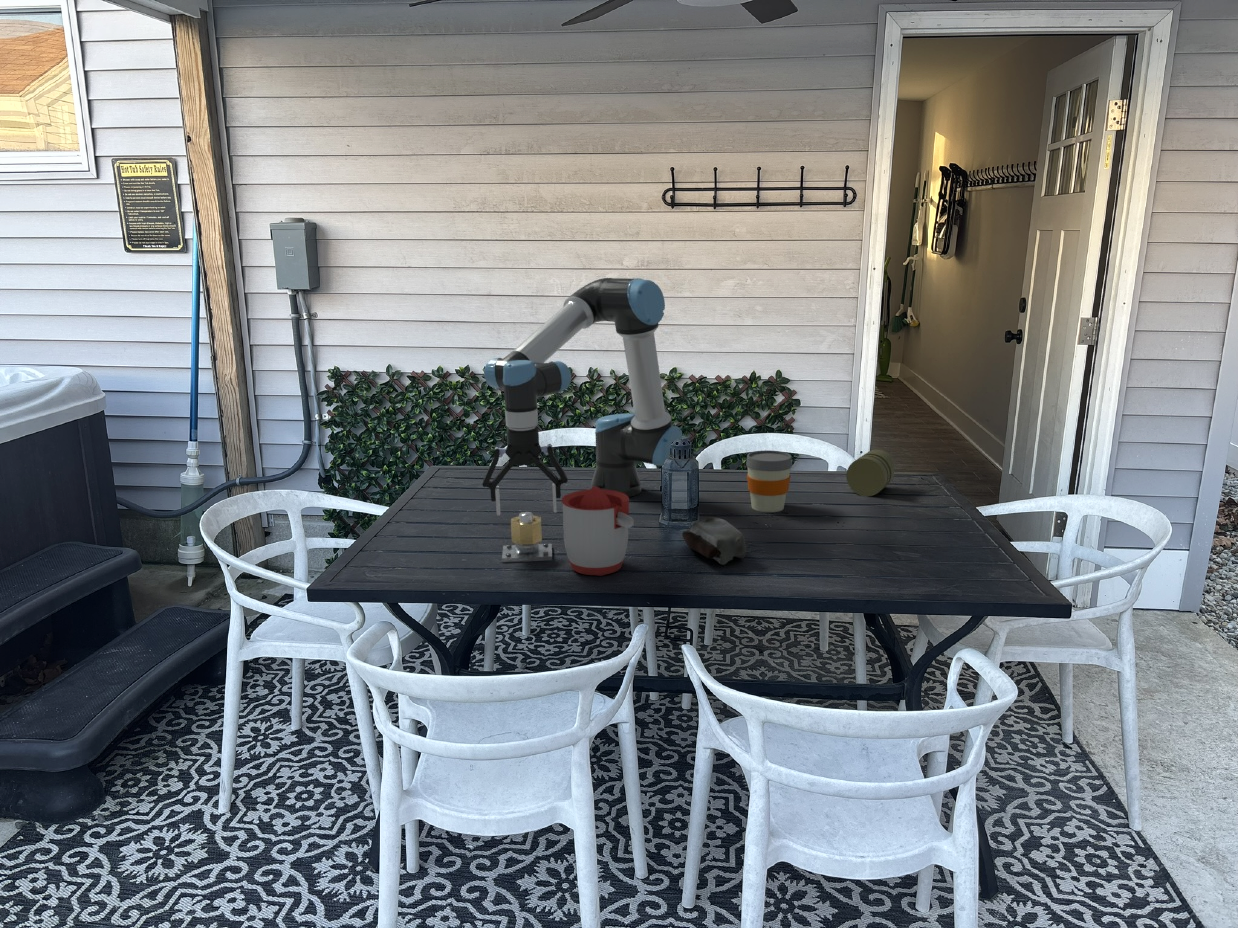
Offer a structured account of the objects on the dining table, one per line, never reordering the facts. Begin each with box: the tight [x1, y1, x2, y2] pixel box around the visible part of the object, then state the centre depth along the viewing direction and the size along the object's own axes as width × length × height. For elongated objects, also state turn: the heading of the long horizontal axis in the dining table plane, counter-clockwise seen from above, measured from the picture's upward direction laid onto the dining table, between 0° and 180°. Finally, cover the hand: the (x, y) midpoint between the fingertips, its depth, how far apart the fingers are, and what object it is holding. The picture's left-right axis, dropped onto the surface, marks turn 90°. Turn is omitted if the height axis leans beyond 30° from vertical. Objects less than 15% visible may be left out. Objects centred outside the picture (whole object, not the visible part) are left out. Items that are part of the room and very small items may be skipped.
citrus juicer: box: [560, 486, 635, 577], centre depth 216 cm, size 16×17×20 cm
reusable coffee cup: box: [745, 450, 793, 513], centre depth 260 cm, size 13×13×15 cm
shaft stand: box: [501, 511, 553, 563], centre depth 226 cm, size 12×9×10 cm
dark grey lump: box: [681, 516, 747, 565], centre depth 225 cm, size 18×11×8 cm, turn 21°
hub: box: [510, 514, 543, 545], centre depth 226 cm, size 7×7×5 cm
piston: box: [845, 449, 896, 497], centre depth 275 cm, size 11×12×11 cm
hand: (526, 512), depth 225 cm, fingers open, 13 cm apart
